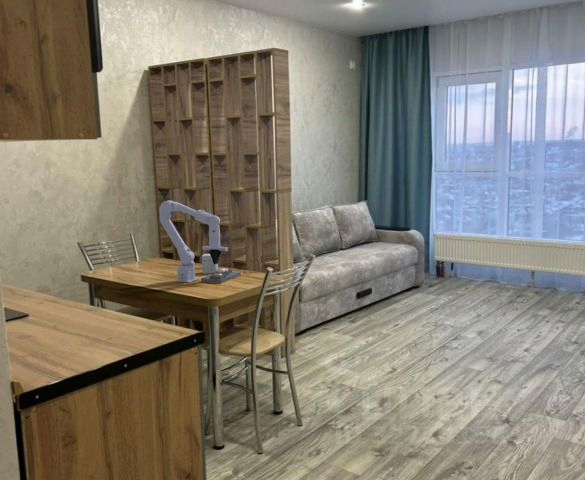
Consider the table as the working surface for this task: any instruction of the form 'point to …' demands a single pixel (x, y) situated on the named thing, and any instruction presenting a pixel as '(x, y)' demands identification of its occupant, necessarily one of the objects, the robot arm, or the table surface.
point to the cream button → (221, 270)
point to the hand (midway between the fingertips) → (215, 263)
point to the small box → (208, 264)
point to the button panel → (221, 277)
